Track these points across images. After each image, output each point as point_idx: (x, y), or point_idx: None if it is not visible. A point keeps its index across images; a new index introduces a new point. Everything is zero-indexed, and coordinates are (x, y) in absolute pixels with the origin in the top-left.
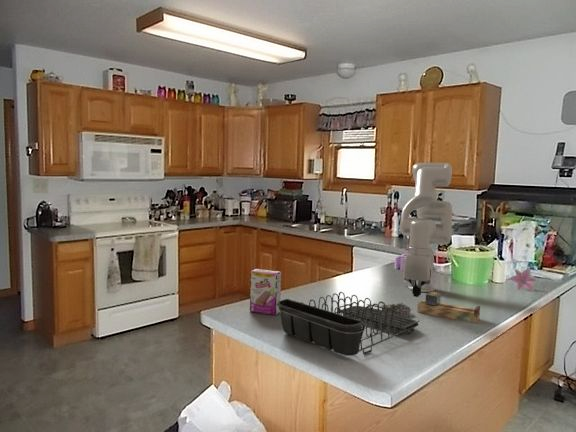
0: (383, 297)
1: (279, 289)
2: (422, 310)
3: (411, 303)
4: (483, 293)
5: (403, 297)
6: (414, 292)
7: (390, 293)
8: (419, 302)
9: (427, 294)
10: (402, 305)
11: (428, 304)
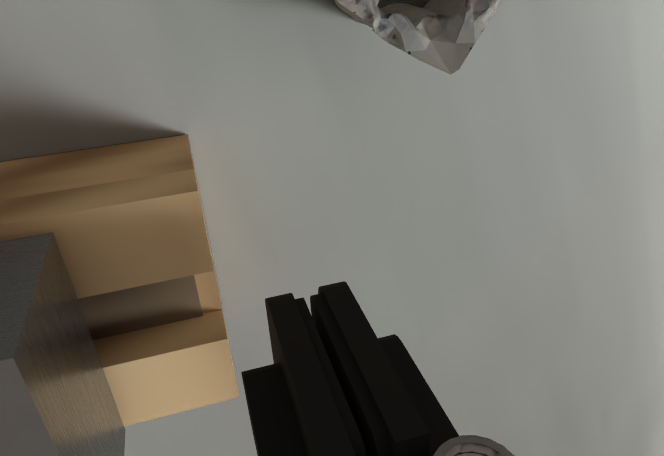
0: (659, 325)
1: None
2: (109, 160)
3: None
4: None
5: None
6: (352, 335)
7: (615, 447)
8: (205, 255)
9: (4, 414)
10: (419, 27)
11: None
